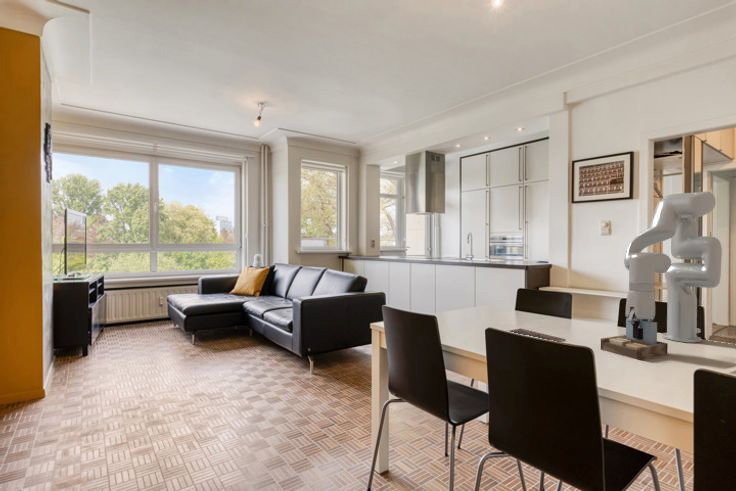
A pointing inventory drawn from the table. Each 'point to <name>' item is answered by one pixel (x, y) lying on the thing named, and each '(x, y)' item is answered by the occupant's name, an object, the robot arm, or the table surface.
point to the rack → (638, 354)
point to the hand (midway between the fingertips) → (641, 337)
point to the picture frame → (537, 334)
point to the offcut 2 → (634, 345)
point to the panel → (644, 331)
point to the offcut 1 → (620, 341)
